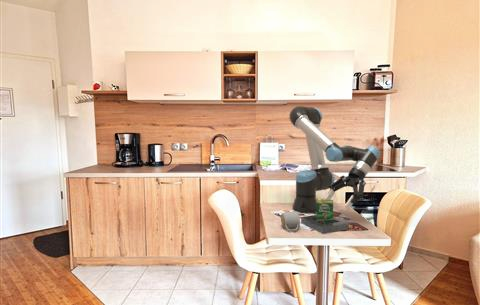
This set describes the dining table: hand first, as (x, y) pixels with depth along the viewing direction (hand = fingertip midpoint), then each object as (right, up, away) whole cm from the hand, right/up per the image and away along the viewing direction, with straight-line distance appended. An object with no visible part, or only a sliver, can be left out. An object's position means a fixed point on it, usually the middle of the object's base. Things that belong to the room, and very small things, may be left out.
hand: (335, 204), depth 127 cm
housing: (-6, -11, 0) cm, 12 cm away
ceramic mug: (-23, -11, -3) cm, 26 cm away
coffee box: (-6, -11, 0) cm, 12 cm away
